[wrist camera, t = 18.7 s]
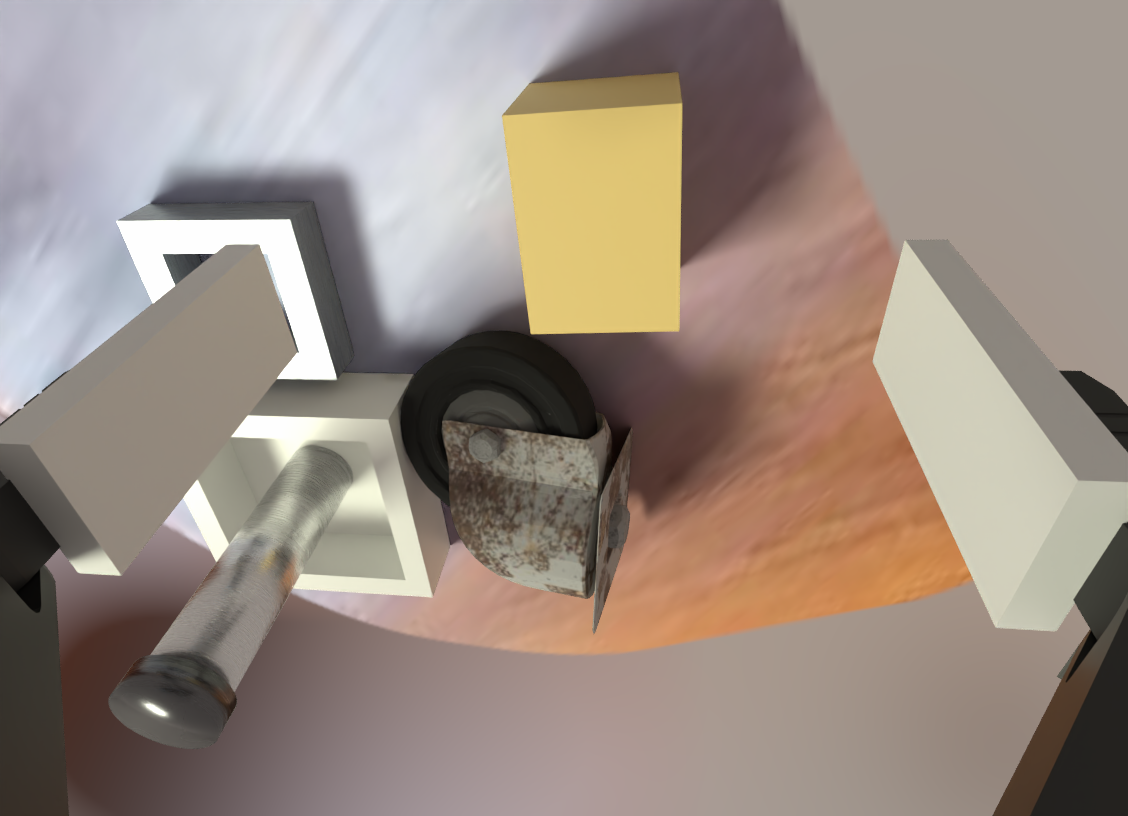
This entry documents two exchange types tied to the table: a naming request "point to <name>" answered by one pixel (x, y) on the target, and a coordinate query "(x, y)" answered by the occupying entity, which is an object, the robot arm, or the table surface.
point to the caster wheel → (521, 463)
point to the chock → (598, 202)
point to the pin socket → (283, 231)
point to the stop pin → (233, 609)
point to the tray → (371, 505)
